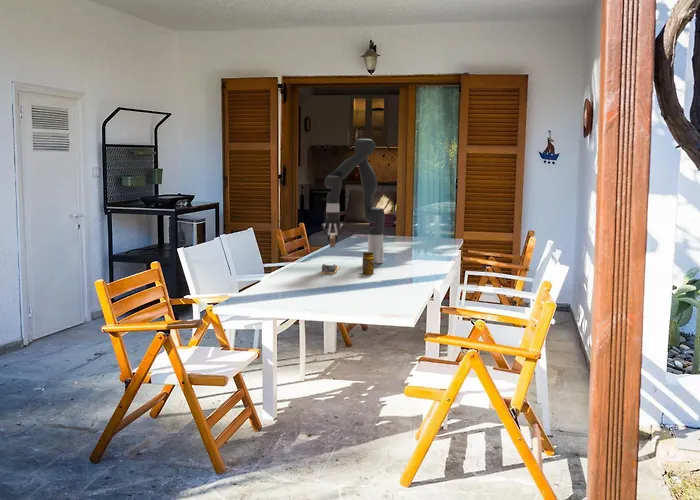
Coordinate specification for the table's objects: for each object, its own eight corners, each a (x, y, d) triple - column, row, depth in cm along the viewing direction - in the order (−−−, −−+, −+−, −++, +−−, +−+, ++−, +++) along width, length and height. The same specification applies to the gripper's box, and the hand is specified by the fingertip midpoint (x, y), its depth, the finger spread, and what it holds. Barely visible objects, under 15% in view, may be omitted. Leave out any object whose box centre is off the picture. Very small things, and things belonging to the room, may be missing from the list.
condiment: (376, 274, 379) (376, 252, 377) (364, 275, 374) (364, 253, 373) (369, 272, 385) (369, 251, 383) (356, 273, 380) (356, 252, 379)
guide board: (340, 267, 402) (340, 260, 401) (335, 273, 380) (335, 265, 379) (326, 267, 402) (326, 259, 402) (320, 273, 381) (320, 265, 380)
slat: (335, 247, 390) (335, 239, 389) (329, 247, 390) (329, 239, 389) (335, 241, 400) (335, 232, 398) (330, 241, 400) (330, 232, 398)
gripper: (320, 211, 389) (319, 242, 391) (345, 211, 389) (344, 242, 391) (320, 210, 396) (320, 241, 398) (345, 211, 396) (344, 241, 398)
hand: (332, 241), depth 394 cm, fingers closed on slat, 3 cm apart
